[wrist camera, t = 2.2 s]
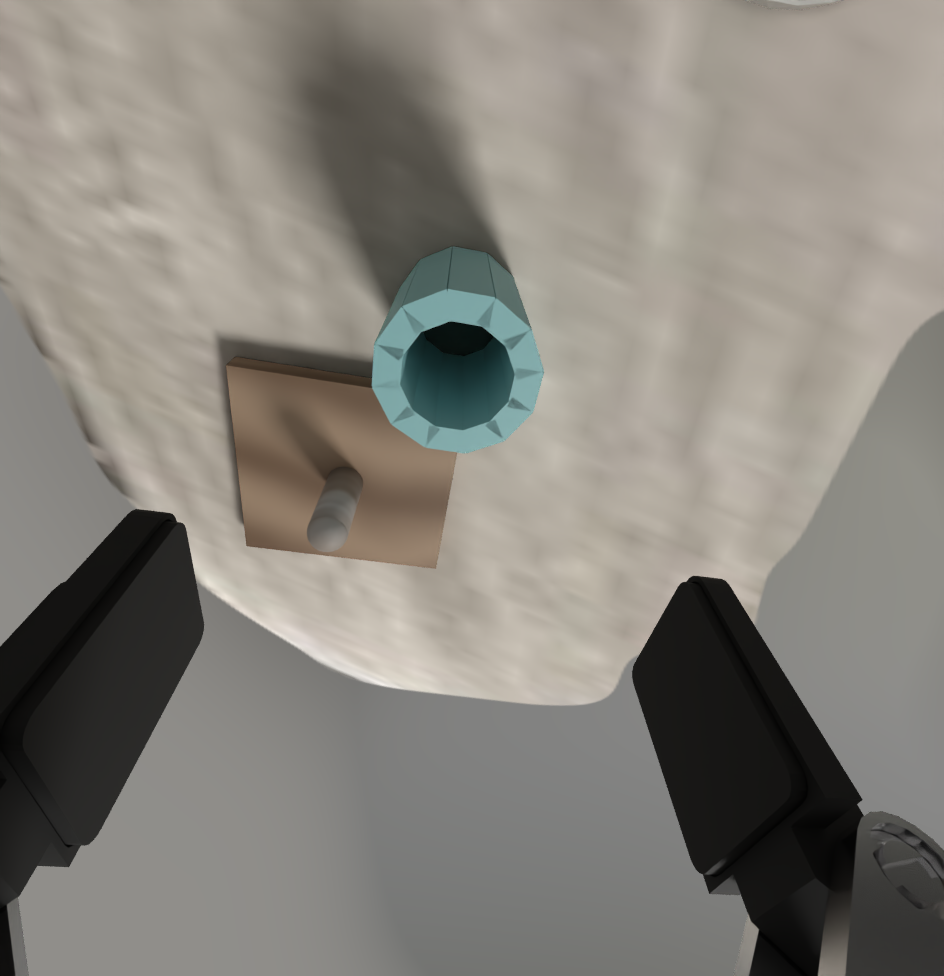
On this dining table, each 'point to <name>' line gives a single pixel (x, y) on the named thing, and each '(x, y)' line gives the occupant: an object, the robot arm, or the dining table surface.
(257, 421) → the pin board
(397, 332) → the sleeve
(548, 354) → the dining table surface
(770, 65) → the dining table surface
